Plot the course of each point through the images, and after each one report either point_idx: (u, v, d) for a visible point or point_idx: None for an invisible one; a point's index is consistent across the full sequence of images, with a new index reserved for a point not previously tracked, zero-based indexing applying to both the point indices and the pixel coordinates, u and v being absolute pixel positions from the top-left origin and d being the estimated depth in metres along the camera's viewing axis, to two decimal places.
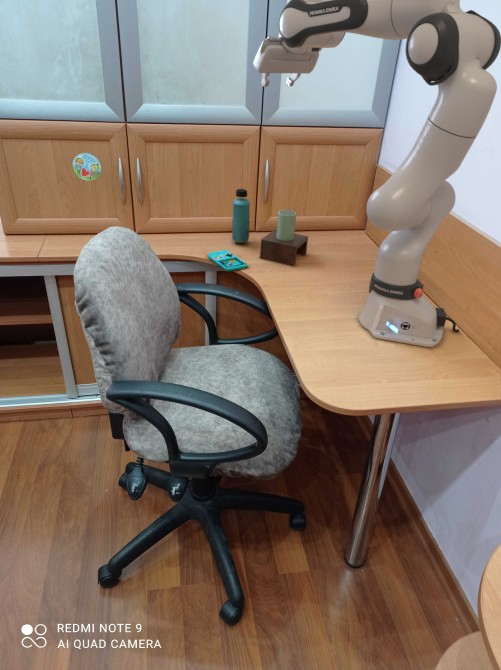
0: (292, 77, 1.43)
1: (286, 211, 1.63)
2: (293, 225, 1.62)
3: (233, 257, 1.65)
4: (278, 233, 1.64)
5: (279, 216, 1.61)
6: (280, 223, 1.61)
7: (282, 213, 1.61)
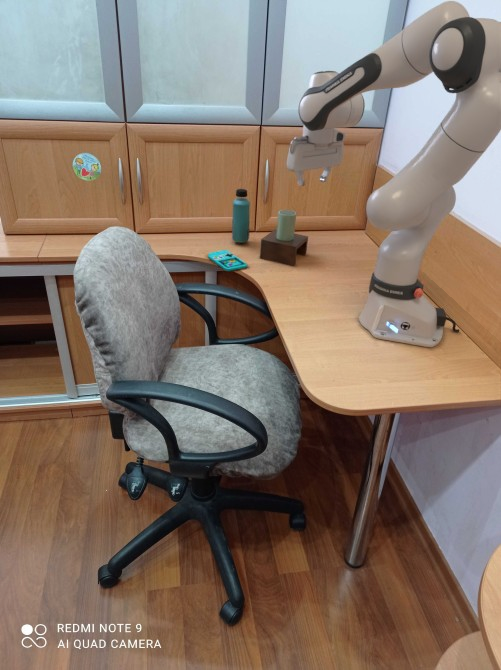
0: (324, 173, 1.46)
1: (286, 211, 1.63)
2: (293, 225, 1.62)
3: (233, 257, 1.65)
4: (278, 233, 1.64)
5: (279, 216, 1.61)
6: (280, 223, 1.61)
7: (282, 213, 1.61)
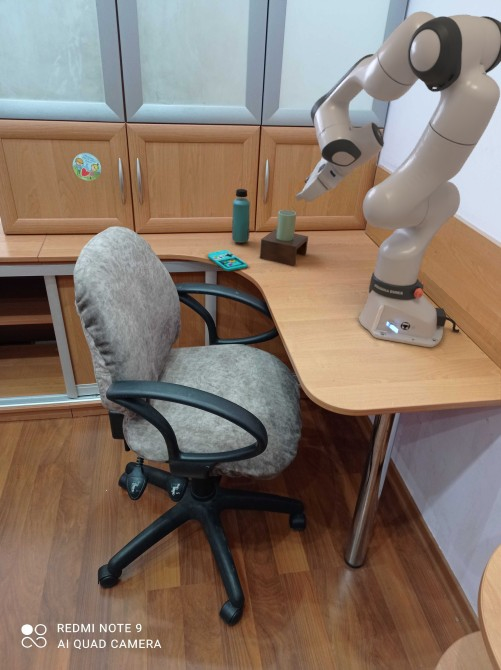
0: None
1: (286, 211, 1.63)
2: (293, 225, 1.62)
3: (233, 257, 1.65)
4: (278, 233, 1.64)
5: (279, 216, 1.61)
6: (280, 223, 1.61)
7: (282, 213, 1.61)
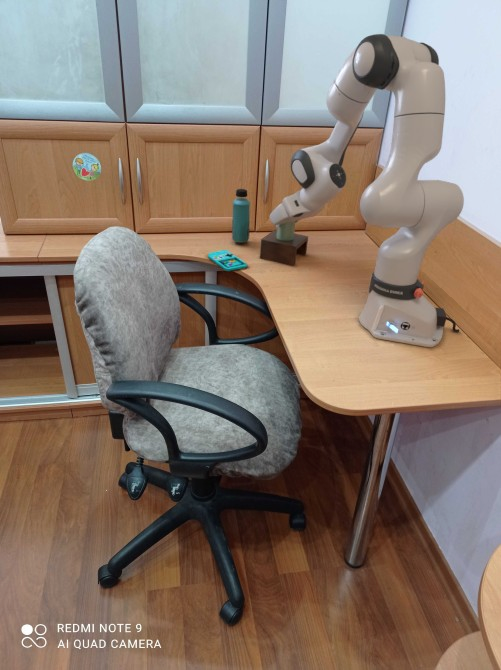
0: None
1: None
2: (293, 225, 1.62)
3: (233, 257, 1.65)
4: (278, 233, 1.64)
5: None
6: None
7: None
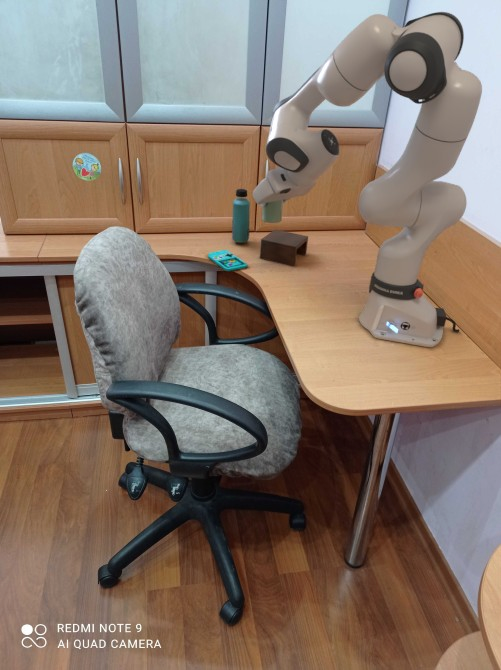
0: None
1: None
2: (280, 205, 1.42)
3: (233, 257, 1.65)
4: (263, 214, 1.43)
5: None
6: None
7: None
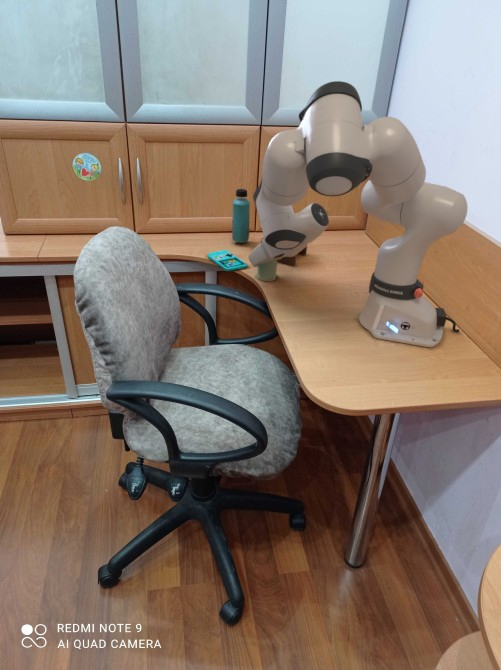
0: None
1: None
2: (275, 264, 1.50)
3: (233, 257, 1.65)
4: (259, 273, 1.52)
5: None
6: None
7: None
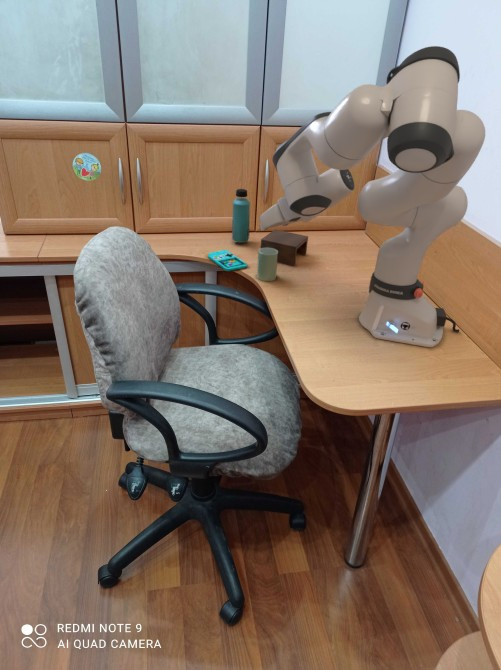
0: None
1: (267, 249, 1.51)
2: (275, 264, 1.50)
3: (233, 257, 1.65)
4: (259, 273, 1.52)
5: (260, 255, 1.49)
6: (261, 263, 1.50)
7: (263, 252, 1.49)
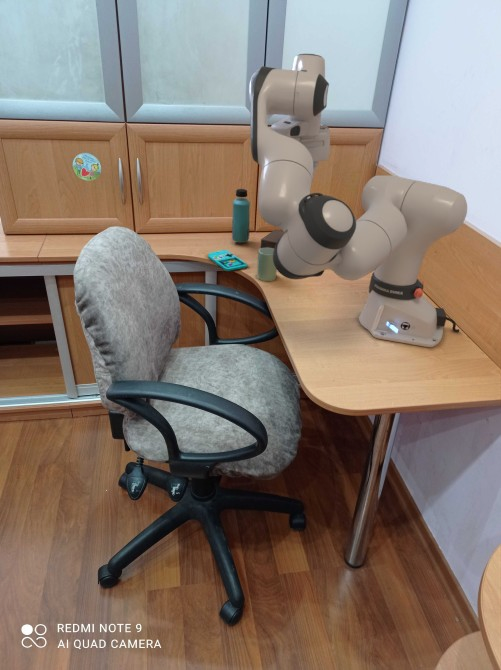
0: None
1: (267, 249, 1.51)
2: None
3: (233, 257, 1.65)
4: (259, 273, 1.52)
5: (260, 255, 1.49)
6: (261, 263, 1.50)
7: (263, 252, 1.49)
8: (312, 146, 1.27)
